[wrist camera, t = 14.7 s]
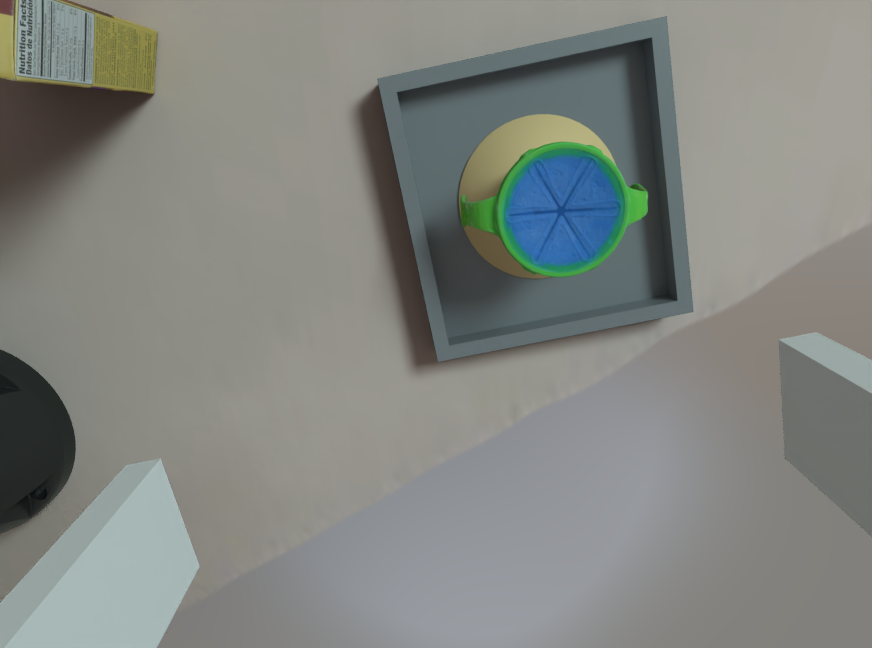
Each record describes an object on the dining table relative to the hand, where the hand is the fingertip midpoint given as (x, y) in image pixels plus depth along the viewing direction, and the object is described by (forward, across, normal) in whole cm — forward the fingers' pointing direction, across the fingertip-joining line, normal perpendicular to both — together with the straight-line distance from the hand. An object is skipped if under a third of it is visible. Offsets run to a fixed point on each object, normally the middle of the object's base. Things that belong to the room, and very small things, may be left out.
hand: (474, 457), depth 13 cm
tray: (+33, +7, +1) cm, 33 cm away
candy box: (+33, -20, +16) cm, 42 cm away
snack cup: (+32, +7, +1) cm, 33 cm away
